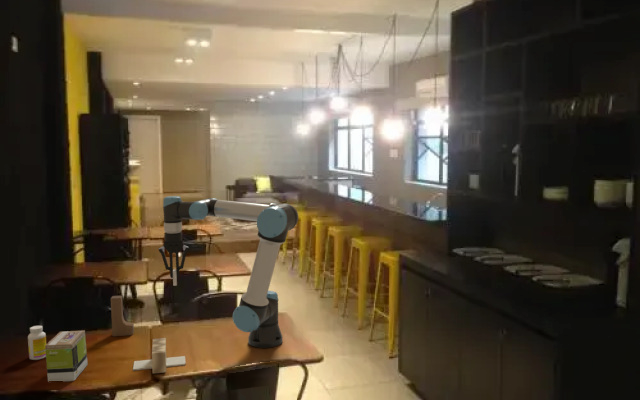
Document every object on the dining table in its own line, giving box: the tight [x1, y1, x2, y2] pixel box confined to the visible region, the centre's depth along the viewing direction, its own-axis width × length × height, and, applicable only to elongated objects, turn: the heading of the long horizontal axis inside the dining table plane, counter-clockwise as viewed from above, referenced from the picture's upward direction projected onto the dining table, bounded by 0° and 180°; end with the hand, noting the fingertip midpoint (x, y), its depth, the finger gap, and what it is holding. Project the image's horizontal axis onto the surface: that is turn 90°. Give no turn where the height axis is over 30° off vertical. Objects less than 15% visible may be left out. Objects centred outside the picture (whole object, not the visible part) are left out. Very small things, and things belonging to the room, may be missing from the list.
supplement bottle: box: [27, 325, 47, 361], centre depth 227 cm, size 7×7×13 cm
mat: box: [132, 355, 187, 371], centre depth 220 cm, size 20×8×1 cm, turn 105°
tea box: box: [45, 329, 89, 383], centre depth 211 cm, size 15×10×15 cm, turn 5°
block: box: [151, 337, 167, 374], centre depth 218 cm, size 5×8×16 cm
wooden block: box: [110, 295, 135, 337], centre depth 253 cm, size 9×4×18 cm, turn 102°
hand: (175, 284), depth 241 cm, fingers closed
